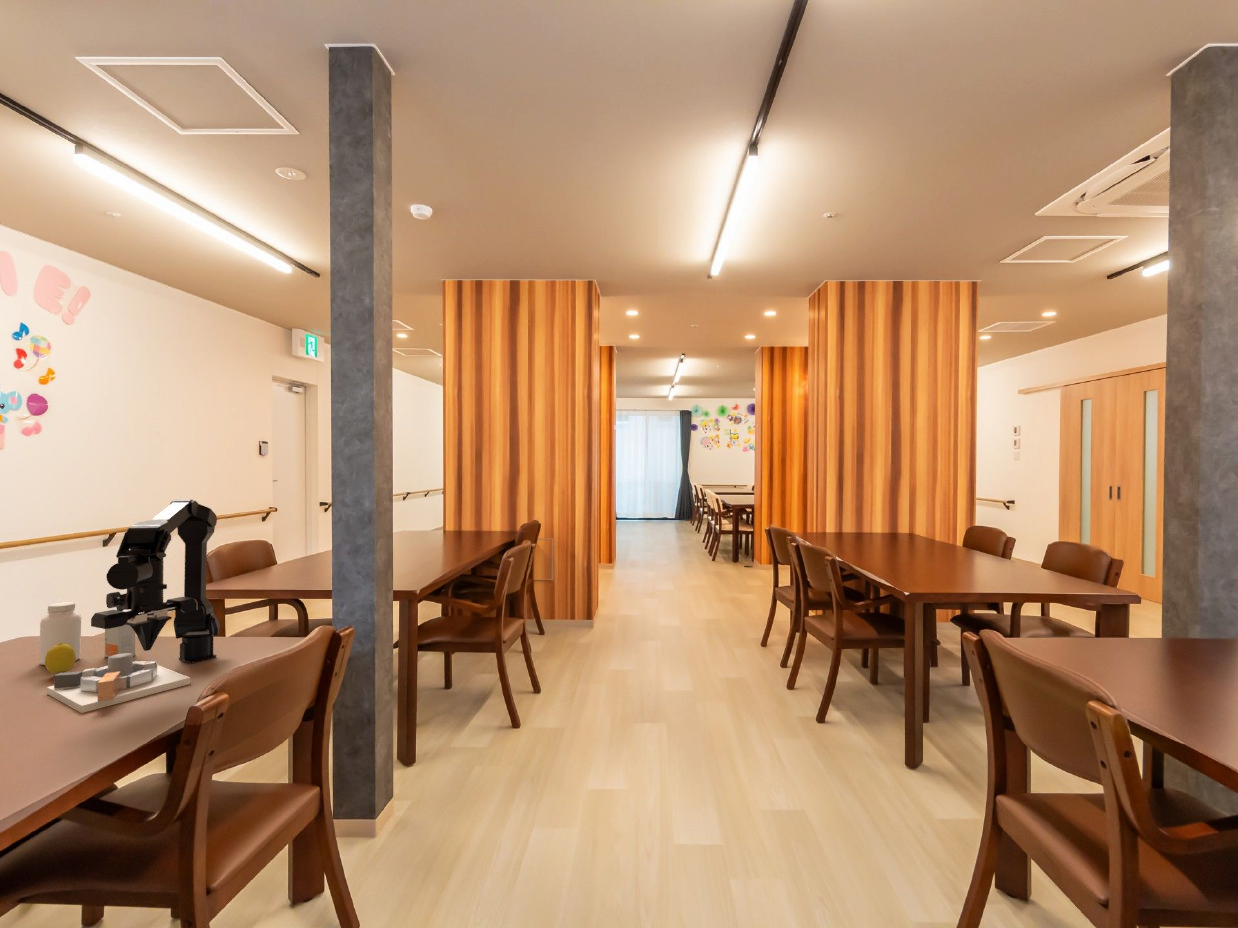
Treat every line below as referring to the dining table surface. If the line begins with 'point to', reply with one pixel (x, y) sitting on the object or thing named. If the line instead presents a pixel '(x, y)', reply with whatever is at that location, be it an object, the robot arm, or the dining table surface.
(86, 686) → the toy block set
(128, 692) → the base board
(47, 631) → the pill bottle
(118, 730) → the dining table surface
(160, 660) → the dining table surface
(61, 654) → the lemon
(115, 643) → the skincare box
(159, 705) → the dining table surface
